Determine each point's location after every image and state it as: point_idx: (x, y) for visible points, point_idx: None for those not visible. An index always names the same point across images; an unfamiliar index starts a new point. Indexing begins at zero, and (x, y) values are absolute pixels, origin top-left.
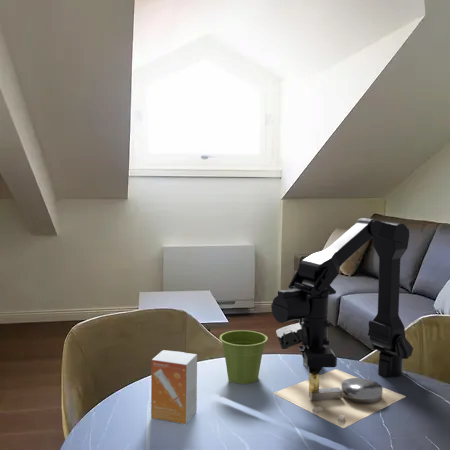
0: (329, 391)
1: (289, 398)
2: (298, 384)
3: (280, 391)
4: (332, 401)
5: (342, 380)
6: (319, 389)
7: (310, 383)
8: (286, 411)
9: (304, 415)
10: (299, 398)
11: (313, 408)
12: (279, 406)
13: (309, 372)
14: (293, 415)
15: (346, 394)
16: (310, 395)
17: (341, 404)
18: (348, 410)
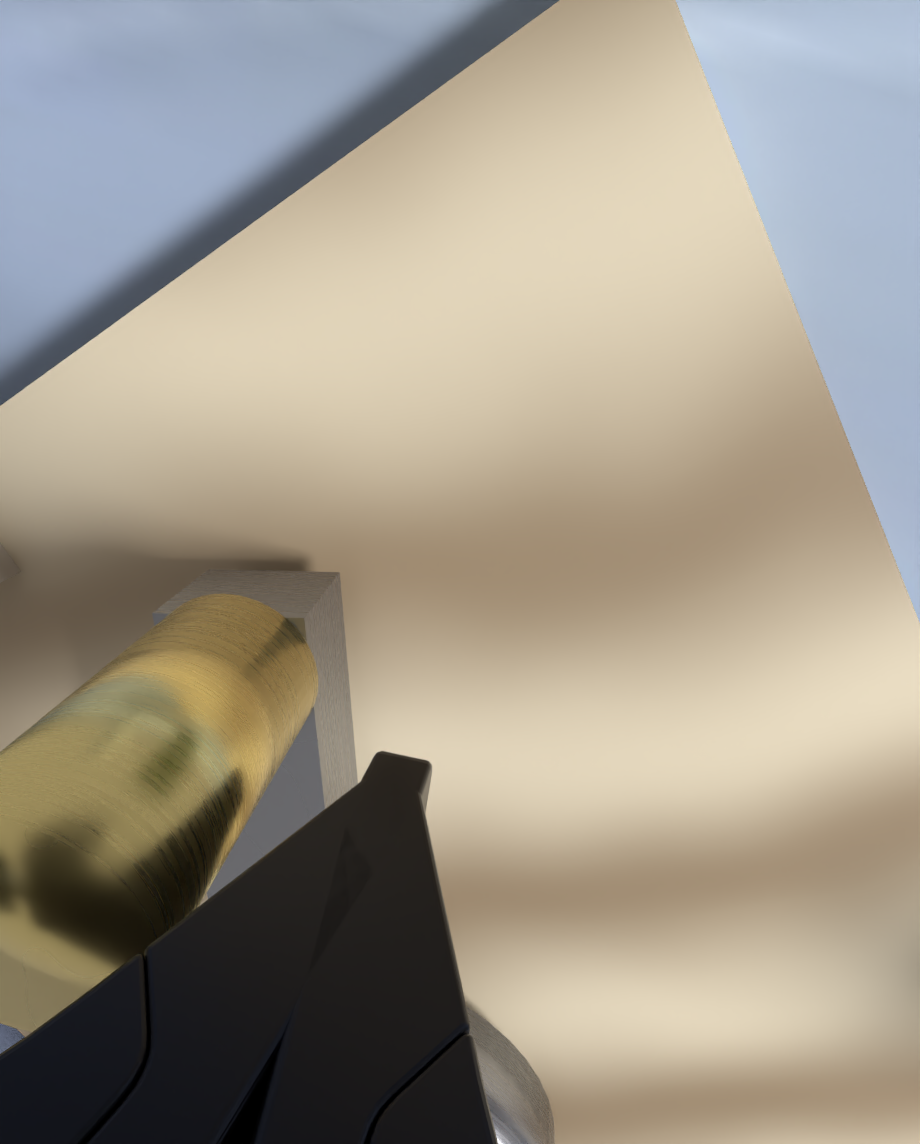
0: (223, 873)
1: (377, 249)
2: (864, 581)
3: (685, 149)
4: None
5: (779, 1113)
6: (300, 775)
7: (91, 682)
8: (120, 115)
9: (24, 362)
10: (358, 423)
11: (55, 517)
12: (285, 31)
13: (255, 865)
14: (9, 197)
15: None
16: (249, 588)
17: None
18: None
